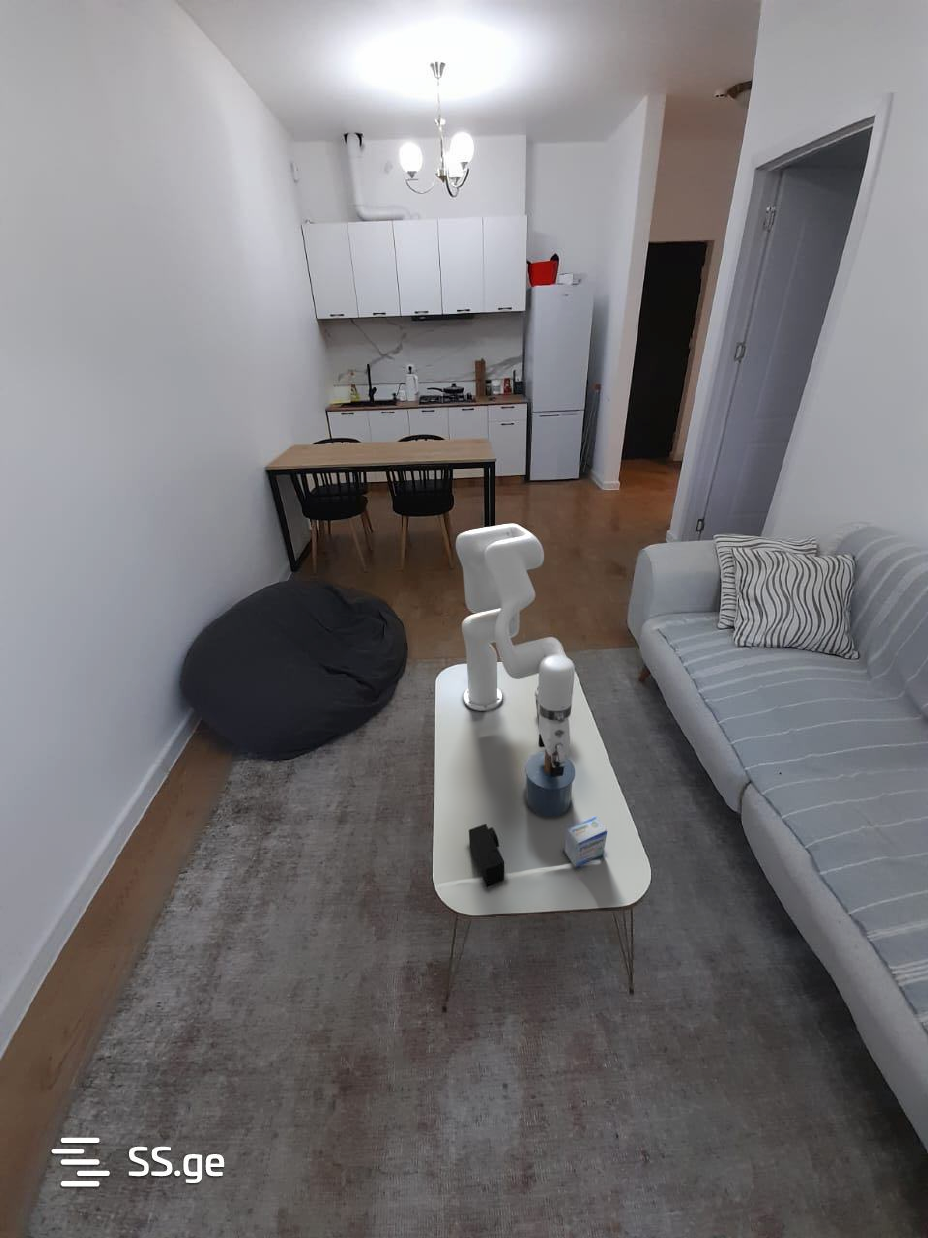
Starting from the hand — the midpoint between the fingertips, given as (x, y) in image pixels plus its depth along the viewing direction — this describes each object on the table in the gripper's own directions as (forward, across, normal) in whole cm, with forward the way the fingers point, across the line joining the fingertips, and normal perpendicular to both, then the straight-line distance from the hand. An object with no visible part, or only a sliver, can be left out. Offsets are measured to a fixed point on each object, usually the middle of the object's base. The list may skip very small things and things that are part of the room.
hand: (550, 760), depth 120 cm
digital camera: (+14, -15, +18) cm, 27 cm away
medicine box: (+14, -16, -4) cm, 22 cm away
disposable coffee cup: (+14, +28, -8) cm, 32 cm away
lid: (+4, 0, 0) cm, 4 cm away
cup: (+14, 0, 0) cm, 14 cm away
